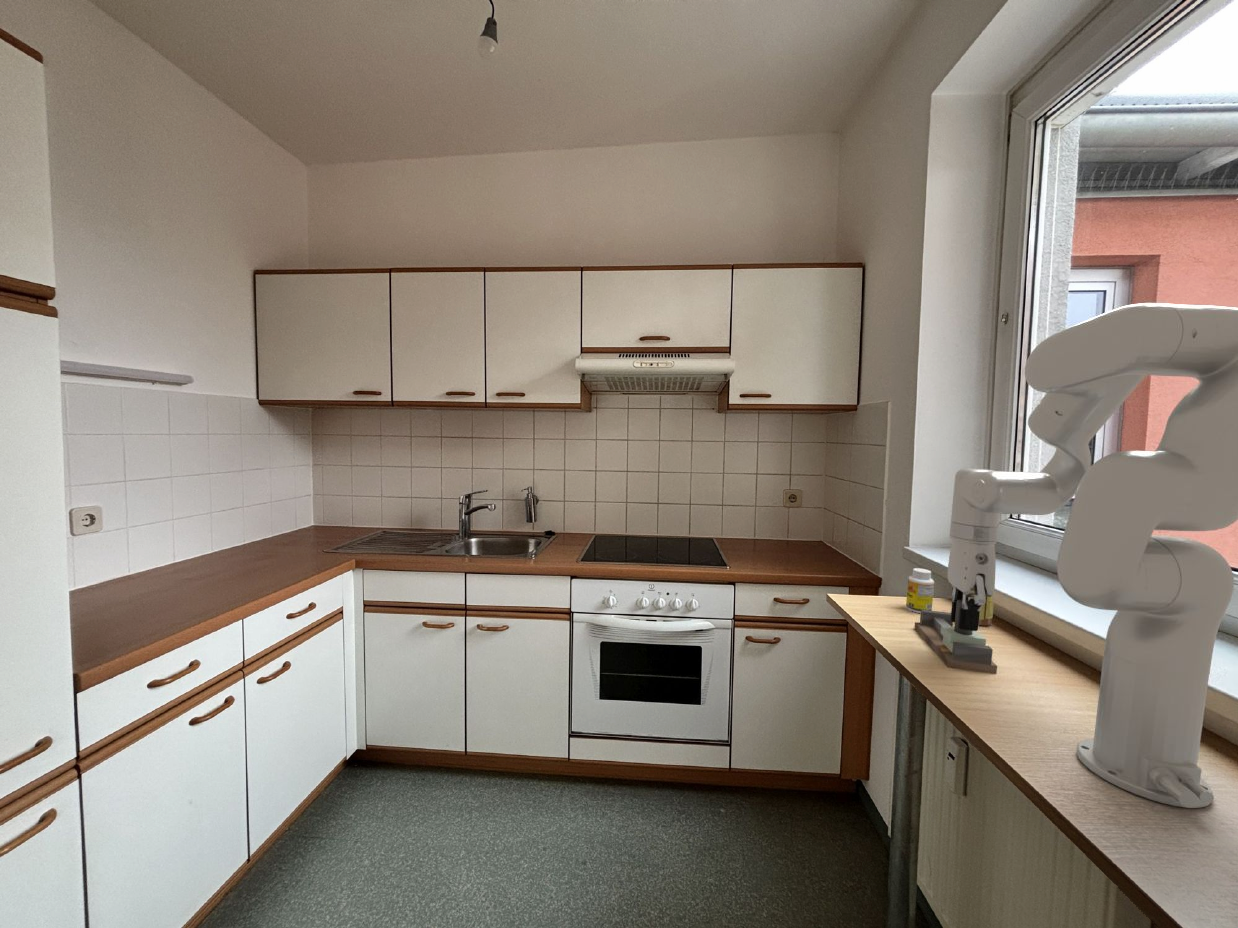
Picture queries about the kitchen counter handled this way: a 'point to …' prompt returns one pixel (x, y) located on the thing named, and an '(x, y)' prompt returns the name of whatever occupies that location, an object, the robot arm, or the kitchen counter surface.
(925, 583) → the supplement bottle
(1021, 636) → the kitchen counter surface
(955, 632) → the carriage
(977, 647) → the rail base
